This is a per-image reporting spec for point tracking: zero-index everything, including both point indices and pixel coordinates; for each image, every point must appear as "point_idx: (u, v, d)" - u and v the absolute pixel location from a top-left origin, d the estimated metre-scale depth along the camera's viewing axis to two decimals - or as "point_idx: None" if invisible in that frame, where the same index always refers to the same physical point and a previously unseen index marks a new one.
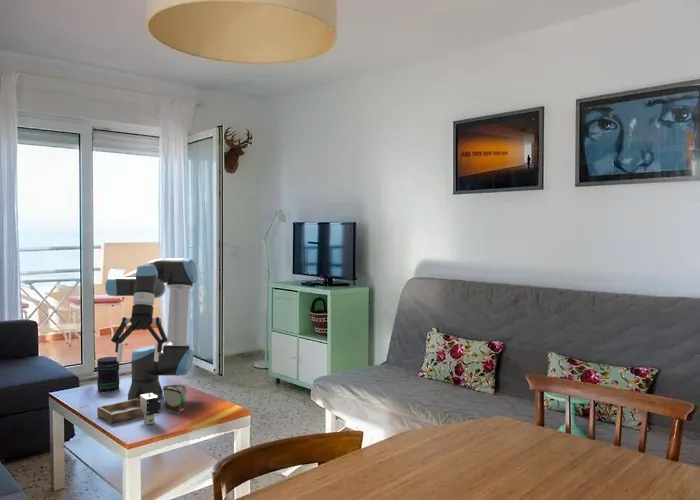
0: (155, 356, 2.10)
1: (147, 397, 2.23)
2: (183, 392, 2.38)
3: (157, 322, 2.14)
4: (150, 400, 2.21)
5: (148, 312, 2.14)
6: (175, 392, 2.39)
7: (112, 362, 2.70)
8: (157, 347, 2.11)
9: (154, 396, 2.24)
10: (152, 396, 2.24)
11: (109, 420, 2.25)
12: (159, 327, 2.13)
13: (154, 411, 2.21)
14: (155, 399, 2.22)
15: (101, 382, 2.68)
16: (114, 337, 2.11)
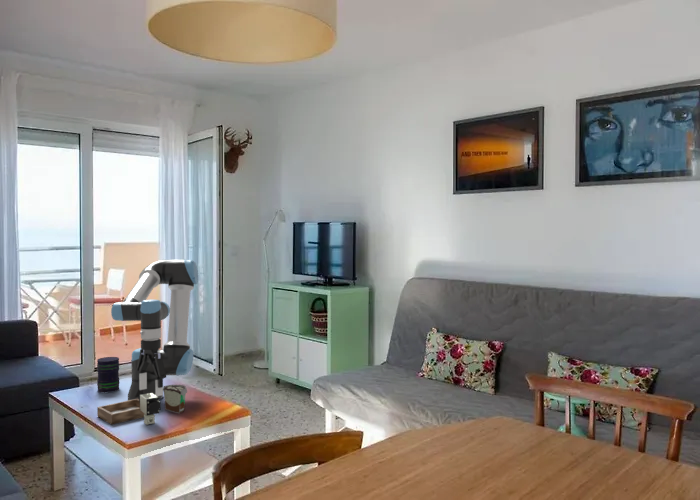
0: (156, 391, 2.19)
1: (147, 397, 2.23)
2: (183, 392, 2.38)
3: (155, 358, 2.19)
4: (150, 400, 2.21)
5: (149, 348, 2.21)
6: (175, 392, 2.39)
7: (112, 362, 2.70)
8: (156, 383, 2.19)
9: (154, 396, 2.24)
10: (152, 396, 2.24)
11: (109, 420, 2.25)
12: (157, 364, 2.19)
13: (154, 411, 2.21)
14: (155, 399, 2.22)
15: (101, 382, 2.68)
16: (137, 366, 2.30)
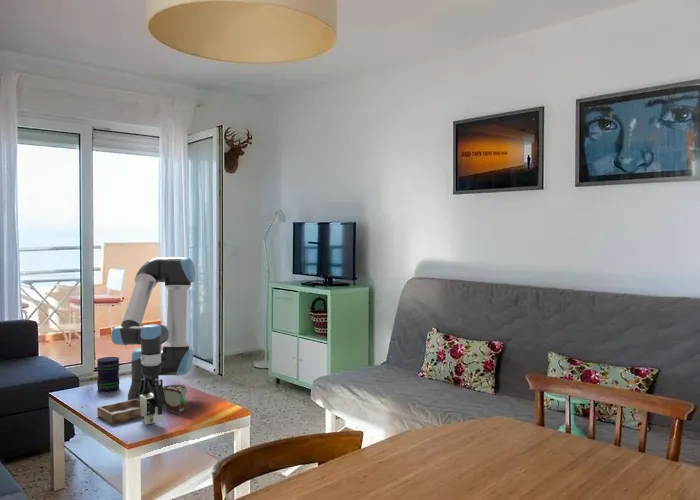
0: (155, 418, 2.20)
1: (147, 397, 2.23)
2: (183, 392, 2.38)
3: (156, 385, 2.20)
4: (150, 400, 2.21)
5: (149, 374, 2.21)
6: (175, 392, 2.39)
7: (112, 362, 2.70)
8: (155, 410, 2.20)
9: None
10: (152, 396, 2.24)
11: (109, 420, 2.25)
12: (157, 391, 2.20)
13: (154, 411, 2.21)
14: None
15: (101, 382, 2.68)
16: (139, 393, 2.30)
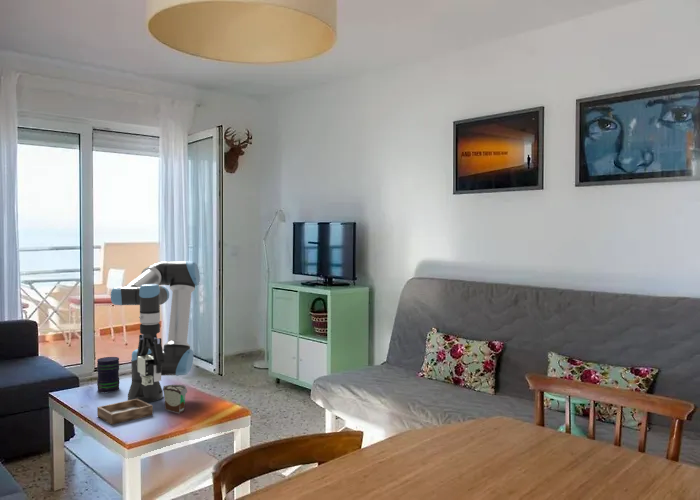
0: (154, 377, 2.21)
1: (145, 358, 2.23)
2: (183, 392, 2.38)
3: (154, 343, 2.20)
4: (149, 361, 2.21)
5: (148, 333, 2.21)
6: (175, 392, 2.39)
7: (112, 362, 2.70)
8: (154, 368, 2.20)
9: (152, 357, 2.25)
10: (150, 357, 2.25)
11: (109, 420, 2.25)
12: (155, 349, 2.20)
13: (153, 372, 2.21)
14: (153, 360, 2.22)
15: (101, 382, 2.68)
16: (137, 353, 2.30)
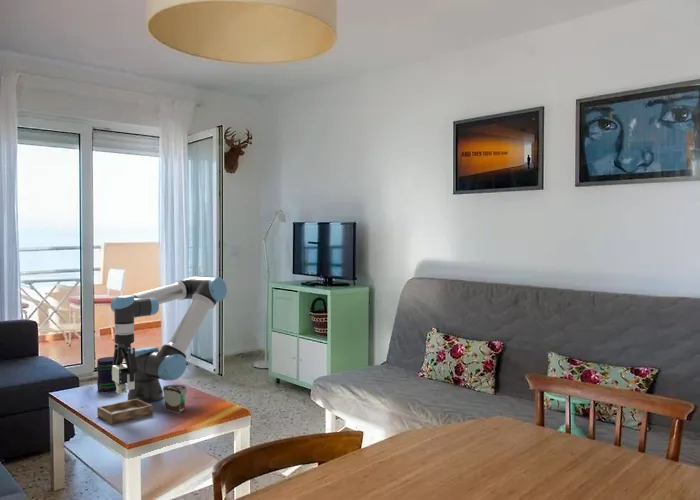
0: (127, 385, 2.29)
1: (119, 367, 2.31)
2: (183, 392, 2.38)
3: (128, 353, 2.28)
4: (122, 370, 2.29)
5: (122, 342, 2.30)
6: (175, 392, 2.39)
7: (112, 362, 2.70)
8: (127, 377, 2.29)
9: (126, 366, 2.33)
10: (124, 366, 2.33)
11: (109, 420, 2.25)
12: (129, 358, 2.28)
13: (126, 380, 2.29)
14: None
15: (101, 382, 2.68)
16: (113, 362, 2.38)
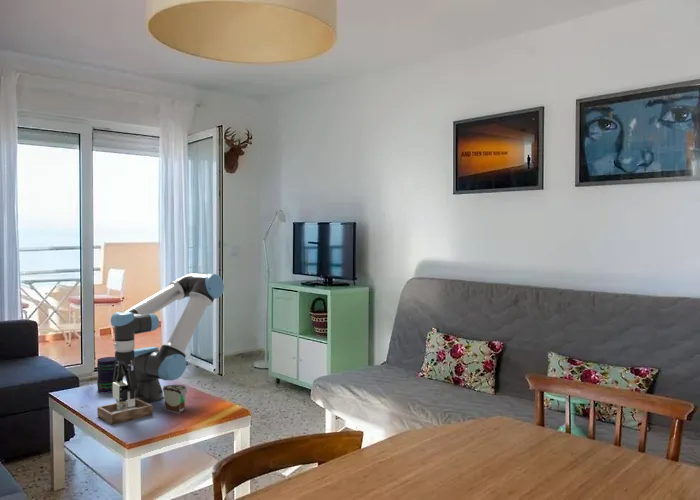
0: (128, 402, 2.29)
1: (120, 384, 2.32)
2: (183, 392, 2.38)
3: (128, 370, 2.29)
4: (123, 387, 2.30)
5: (122, 360, 2.30)
6: (175, 392, 2.39)
7: (112, 362, 2.70)
8: (128, 394, 2.29)
9: (126, 383, 2.33)
10: (124, 383, 2.33)
11: (109, 420, 2.25)
12: (129, 376, 2.28)
13: (127, 397, 2.29)
14: (127, 386, 2.31)
15: (101, 382, 2.68)
16: (113, 378, 2.39)
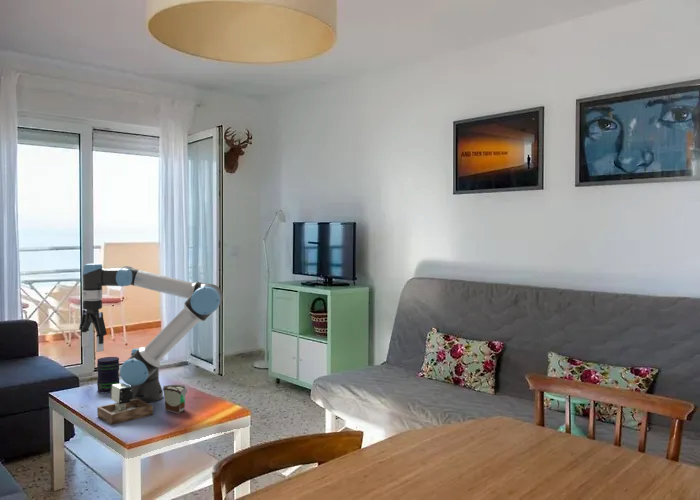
0: (97, 347, 2.38)
1: (120, 386, 2.33)
2: (183, 392, 2.38)
3: (96, 317, 2.38)
4: (123, 389, 2.31)
5: (90, 308, 2.39)
6: (175, 392, 2.39)
7: (112, 362, 2.70)
8: (97, 339, 2.38)
9: (126, 386, 2.35)
10: (124, 386, 2.35)
11: (109, 420, 2.25)
12: (97, 322, 2.38)
13: (126, 400, 2.31)
14: (127, 388, 2.33)
15: (101, 382, 2.68)
16: (80, 326, 2.48)
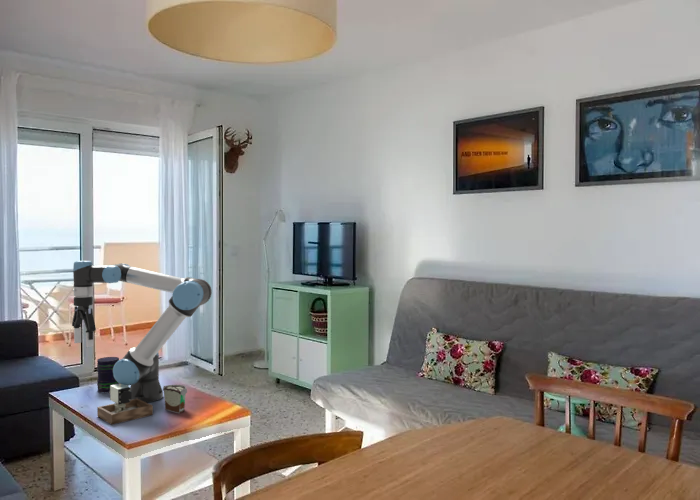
0: (86, 343, 2.41)
1: (118, 387, 2.33)
2: (183, 392, 2.38)
3: (86, 313, 2.41)
4: (121, 390, 2.31)
5: (80, 304, 2.43)
6: (175, 392, 2.39)
7: (112, 362, 2.70)
8: (86, 335, 2.41)
9: (125, 386, 2.34)
10: (123, 386, 2.34)
11: (109, 420, 2.25)
12: (87, 318, 2.41)
13: (125, 400, 2.31)
14: (126, 388, 2.32)
15: (101, 382, 2.68)
16: (72, 322, 2.52)
